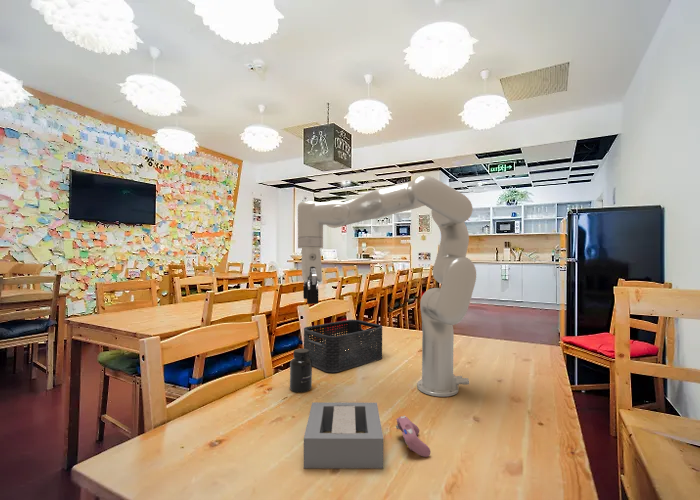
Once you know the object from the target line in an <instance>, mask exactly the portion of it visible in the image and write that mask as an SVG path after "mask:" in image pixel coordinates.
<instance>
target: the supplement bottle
mask: <svg viewBox="0 0 700 500" xmlns="http://www.w3.org/2000/svg"><path fill="white" fill-rule="evenodd" d="M308 357H309V350H308V349H304V348H297V349H296V348H295V349H294V350H293V358H291V360H290V363H289V389H290V390H291V391H292V392H295V393H306V392H309V391H310V390H311V389H312V383H313V382H312V381H313V366H312V361H311V359H310V358H308Z"/></svg>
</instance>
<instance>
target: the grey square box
mask: <svg viewBox="0 0 700 500" xmlns="http://www.w3.org/2000/svg"><path fill="white" fill-rule="evenodd" d="M334 406H355V425H356V433H354V434H345V433H342V434H340V433H339V434H334V433H332V424H333V413H334ZM307 419H308V420H307V423H306V427H305V432H304V436H303V469H384V435H383V430H382V422H381V419H380V413H379V406H378V402H317V401H316V402H311V406H310V411H309V414H308V418H307ZM361 432H363V433H361ZM364 432H365V433H364Z"/></svg>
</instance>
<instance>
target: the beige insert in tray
mask: <svg viewBox="0 0 700 500" xmlns="http://www.w3.org/2000/svg"><path fill="white" fill-rule="evenodd" d="M331 433H334V434H339V433H340V434H342V433H345V434H354V433H357V431H356V425H355V406H334V413H333V424H332V431H331Z"/></svg>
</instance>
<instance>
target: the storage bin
mask: <svg viewBox="0 0 700 500" xmlns="http://www.w3.org/2000/svg"><path fill="white" fill-rule="evenodd" d="M362 326H365V327H369V328H370V329H363V328H362ZM303 349H308V350H309V357H308V358H310V359H311V361H312V368H313V367H314V368H316V369H318V370H320V371H323V372H325V373H339V372H343V371H346V370H347V371H348V370H349V369H353V368H357V367H361V366H363V365H367V364H369V363H374V362H377V361H379V360H382V359H383V324H382V325H381V324H377V323H372V322H368V321H363V320H360V319H346V320H340V321H334V322H329V323H322V324H317V325H310V326H305V327H304V328H303ZM348 349H349V350H348ZM345 350H346V351H345Z"/></svg>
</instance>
